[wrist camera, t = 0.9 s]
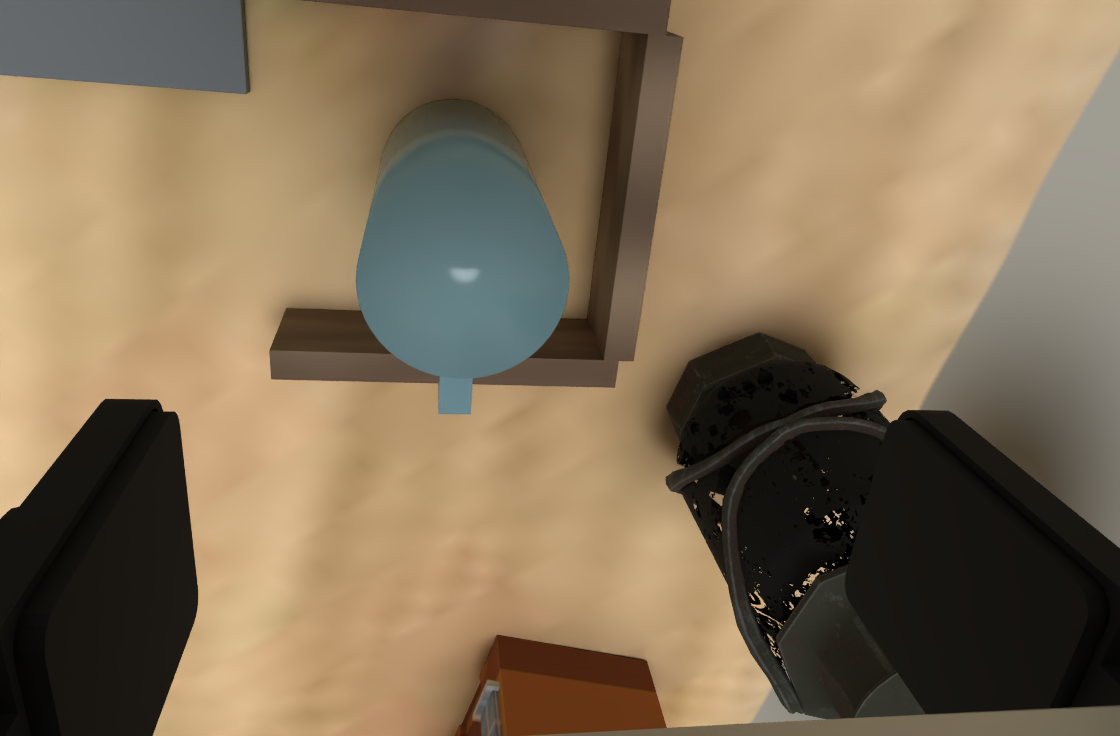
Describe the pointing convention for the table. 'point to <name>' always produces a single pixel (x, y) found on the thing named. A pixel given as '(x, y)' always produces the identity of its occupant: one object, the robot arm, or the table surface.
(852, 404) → the lantern
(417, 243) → the jug
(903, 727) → the robot arm
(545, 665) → the miniature building
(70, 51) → the coaster
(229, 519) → the table surface
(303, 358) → the brown u-shaped frame
